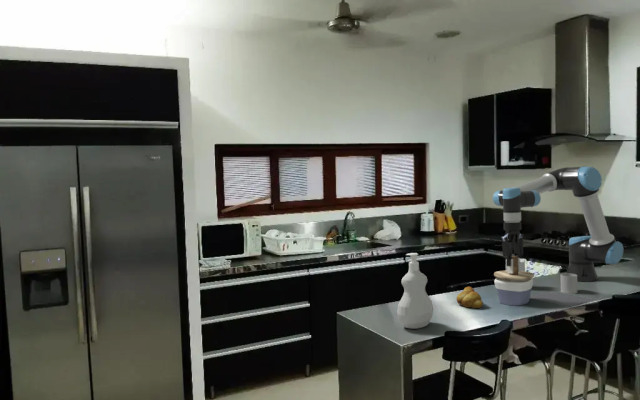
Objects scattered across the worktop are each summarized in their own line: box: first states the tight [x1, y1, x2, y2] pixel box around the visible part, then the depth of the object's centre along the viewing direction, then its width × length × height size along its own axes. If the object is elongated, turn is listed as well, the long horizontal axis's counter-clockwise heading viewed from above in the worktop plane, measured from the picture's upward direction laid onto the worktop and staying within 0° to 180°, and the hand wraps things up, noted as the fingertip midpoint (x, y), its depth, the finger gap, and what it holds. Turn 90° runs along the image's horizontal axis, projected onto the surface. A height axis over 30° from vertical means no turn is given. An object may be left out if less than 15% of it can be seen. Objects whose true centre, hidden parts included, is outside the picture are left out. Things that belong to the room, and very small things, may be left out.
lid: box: [493, 255, 535, 280], centre depth 224 cm, size 17×17×9 cm
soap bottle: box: [396, 252, 434, 330], centre depth 196 cm, size 17×12×29 cm
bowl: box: [493, 277, 534, 307], centre depth 225 cm, size 15×15×11 cm
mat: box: [529, 290, 594, 308], centre depth 226 cm, size 18×22×1 cm
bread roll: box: [456, 286, 484, 309], centre depth 222 cm, size 13×10×8 cm
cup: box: [560, 272, 578, 295], centre depth 238 cm, size 7×10×9 cm
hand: (513, 272), depth 224 cm, fingers closed on lid, 4 cm apart
